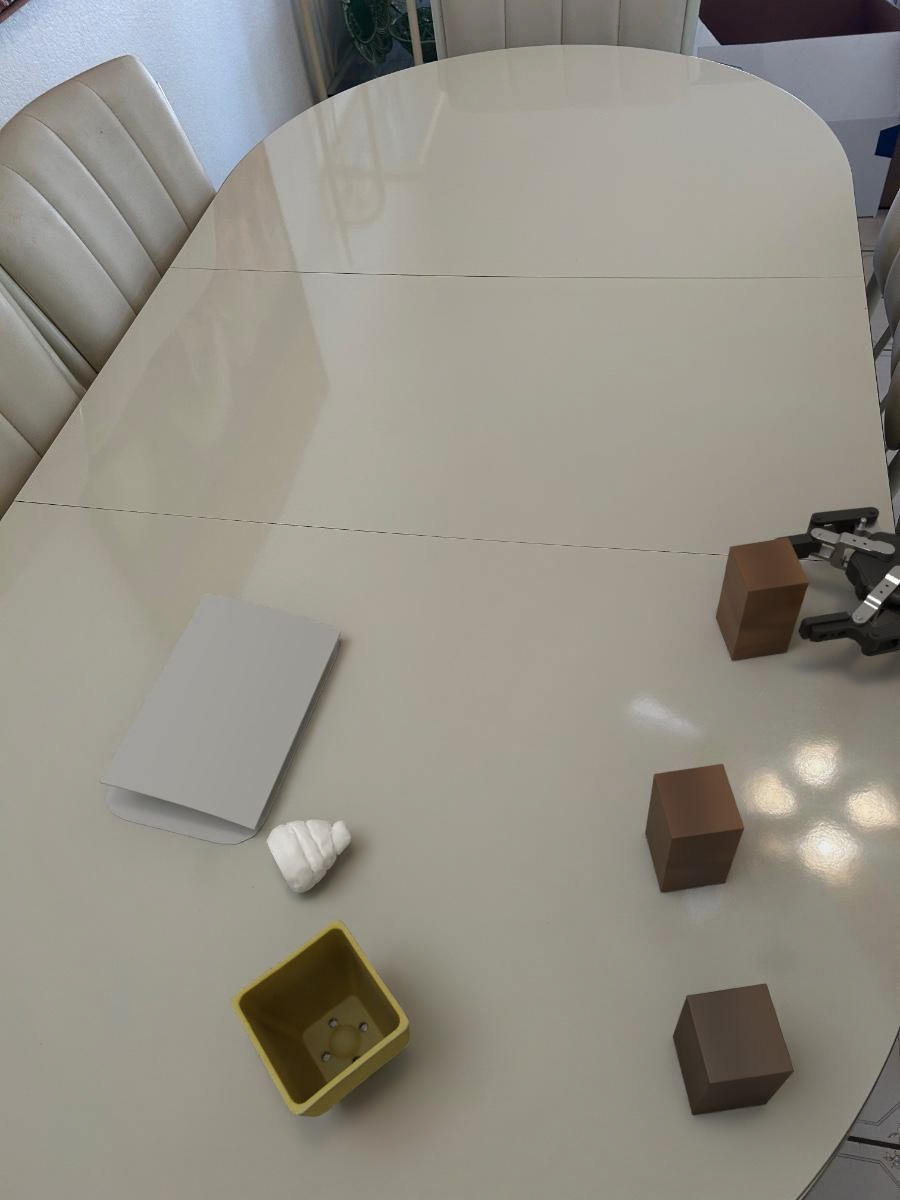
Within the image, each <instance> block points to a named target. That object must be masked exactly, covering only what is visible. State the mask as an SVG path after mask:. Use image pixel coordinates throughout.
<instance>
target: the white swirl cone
mask: <svg viewBox="0 0 900 1200" xmlns="http://www.w3.org/2000/svg"><path fill="white" fill-rule="evenodd" d="M351 841H352V835H351V832H350V831H349V830H348V827H347V823H346V821H344V820H338V821H335V823H333V825H331V823H330V822H329V821H327V820H323V819H315V818H314V819H313V818H312V819H307V820H306V821H304V820H292V821H288V822H286V824H283V823H282V824H281V823H280V824H278V825H277V826H276V827H274V828H273V829H272V830H271V831H270V833H269V835H268V838H266V844H267V845H268V848H269V850H270V852H271V854H272V856H273V858H274V860H275V862H276V865H277V866H278V869H279V871H280V872H281V874H282V876H283V879H285V882H286V883H287V885H288V887H289V888H290V890H291V892H292V893H293V892H294V893H298V894H303V893H305V892H308V891H309V890H311V889H312V888H314V887H315V885H316V884H318V883H319V882H321V880H322V879H323V878H324V877H325V876H326V874H327V872H328V870H330V869H331V868H332V866H333V865H334V864H335V862H336V860H337V856H339V855H341V854H342V853H343V852H344V850H345V849H346V848H347V847H348V846H349V845H350V843H351Z"/></svg>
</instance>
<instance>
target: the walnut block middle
mask: <svg viewBox="0 0 900 1200" xmlns="http://www.w3.org/2000/svg"><path fill="white" fill-rule="evenodd" d="M651 785H652V786H651V791H650V798H649V804H648V811H647V819H646V823H645V824H646V825H645V831H644V833H645V839H646V841H647V846H648V849H649V853H650V857H651V861H652V864H653V868H654V873H655V876H656V881H657V884H658V888H659V892H660V893H661V894H663V893H670V892H674V891H675V892H677V891H682V890H688V889H697V888H702V887H710V886H715V885H716V886H717V885H724V884H726V882H727V880H728V877H729V873H730V871H731V869H732V868H731V867H732V865H733V862H734V859H735V856H736V854H737V850H738V848H739V844H740V842H741V839H742V836H743V832H744V830H745V826H744V823H743V820H742V816H741V814H740V810H739V808H738V805H737V802H736V798H735V795H734V792H733V790H732V787H731V784H730V781H729V777H728V774H727V772H726V769H725V765H724V764H723V763H717V764H710V765H704V766H698V767H691V768H685V769H684V768H683V769H677V770H671V771H665V772H657V773H654V774H653V777H652V784H651Z"/></svg>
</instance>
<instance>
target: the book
mask: <svg viewBox="0 0 900 1200" xmlns="http://www.w3.org/2000/svg"><path fill="white" fill-rule="evenodd" d="M341 635H342V630H340V629H338V628H336V627H333V626H330V625H327V624H324V623H322V622H319V621H316V620H314V619H311V618H308V617H304V616H302V615H298V614H295V613H291V612H288V611H284V610H282V609H278V608H274V607H270V606H264V605H262V604H259V603H254V602H250V601H246V600H243V599H242V600H241V599H236V598H233V597H228V596H224V595H218V594H212V593H207V592H205V593H204V594H203V596H202V598H201V600H200V601H199V603H198V605H197V607H196V609H195V611H194V612H193V613H192V616H191V617H190V619H189V621H188V623H187V624H186V626H185V629H184V630H183V632H182V634H181V636H180V637H179V639H178V640H177V643H176V644H175V646H174V648H173V650H172V652H171V653H170V655H169V657H168V658H167V661H166V662H165V664H164V666H163V667H162V669H161V671H160V673H159V675H158V677H157V678H156V680H155V682H154V684H153V686H152V687H151V689H150V691H149V693H148V694H147V696H146V697H145V700H144V701H143V703H142V704H141V705H142V706H141V707H140V709H139V710H138V712H137V714H136V716H135V718H134V720H133V721H132V723H131V725H130V727H129V728H128V730H127V732H126V734H125V735H124V738H123V739H122V741H121V743H120V745H119V747H118V749H116V751H115V754H114V755H113V757H112V759H111V761H110V762H109V764H108V766H107V768H106V770H105V772H104V773H103V775H102V777H101V779H100V780H99V784H101V785H106V786H107V788H106V792H105V795H104V801H105V803H106V805H107V807H108V810H109V812H110V813H111V814H113V815H115V816H116V817H118V818H120V819H122V820H124V821H128V822H131V823H135V824H138V825H139V824H140V825H143V826H146V827H151V828H155V829H159V830H163V831H167V832H171V833H174V834H178V835H183V836H186V837H190V838H191V837H192V838H193V839H199V840H202V841H206V842H210V843H214V844H219V845H238V844H240V843H243V842H244V841H247V840H249V839H252V838H254V837H255V836H256V834H257V833H258V832H259V831H260V830H261V829H262V827H263V826H264V825H265V823H266V822H267V820H268V819H267V818H268V817H269V815H270V812H271V809H272V807H273V805H274V802H275V800H276V799H277V796H278V793H279V791H280V789H281V787H282V784H283V781H284V779H285V777H286V775H287V772H288V770H289V768H290V765H291V763H292V761H293V758H294V757H295V754H296V752H297V749H298V747H299V744H300V742H301V740H302V738H303V735H304V733H305V731H306V728H307V726H308V724H309V721H310V720H311V717H312V715H313V713H314V710H315V708H316V706H317V703H318V701H319V699H320V697H321V694H322V692H323V689H324V687H325V685H326V682H327V680H328V677H329V675H330V673H331V671H332V668H333V666H334V663H335V662H336V659H337V658H338V655H339V647H340V641H339V639H340V636H341Z"/></svg>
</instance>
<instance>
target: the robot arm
mask: <svg viewBox="0 0 900 1200" xmlns="http://www.w3.org/2000/svg"><path fill="white" fill-rule="evenodd" d="M879 515H880V510H879V509H878V508H877V507H874V506H866V507H865V506H864V507H856V508H846V509H838V510H828V511H819V512H814V513H812V514H811V515H810V520H809V523H808V527H807V530H806V533H798V534H793V535H786V536H780V537H777V538H774V539H773V540H775V539H781V538H789V540H790V542H791V545H792V547H793V549H794V551H795V553H796V555H797V557H798V560H804V559H809V557H810V556H811V557H814V558H817V559H820V560H823V561H826V562H828V563H829V564H830V566H831V567H832V568H835V569H839V570H841V571H843V572H845V573H844V574H845V576H846V578H847V580H848V581H849V582H850V584H852V586H853V587H854V593H855V596H856V598H857V600H858V601H862V603H861V604H860V605H859V607H858V608H857V609H855V611H854V612H853V613H852V614H850V615H849V613H848V610H847V611H839V612H834V613H827V614H820V615H814V616H813V615H812V616H807V617H804V618H803V619H802V620H801V621H800V623H799V627H798V630H797V631H798V634H799V636H800V638H801V640H809V641H810V642H814V643H820V642H826V641H833V640H834V641H835V640H840V639H849V640H851V641H854V642H856V643H857V645H859V646H860V652H861V654H863V655H864V656H866V657H875V656H880V655H884V654H889V653H893V652H899V651H900V621H898V622H892V623H889V624H884V625H877V626H874V625H876V623H877V622H878V621H879V620H880V619H881V617H882V616H884V614H885V613H886V612H889V613H893V614H896V615H898V616H900V532H898V533H891V532H885V531H882V529H881V526H880V523H879V522H878V518H879ZM847 549H850V550H853V552H852V553H851V554H850V556H847V555H846V553H845V551H846V550H847Z"/></svg>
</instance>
